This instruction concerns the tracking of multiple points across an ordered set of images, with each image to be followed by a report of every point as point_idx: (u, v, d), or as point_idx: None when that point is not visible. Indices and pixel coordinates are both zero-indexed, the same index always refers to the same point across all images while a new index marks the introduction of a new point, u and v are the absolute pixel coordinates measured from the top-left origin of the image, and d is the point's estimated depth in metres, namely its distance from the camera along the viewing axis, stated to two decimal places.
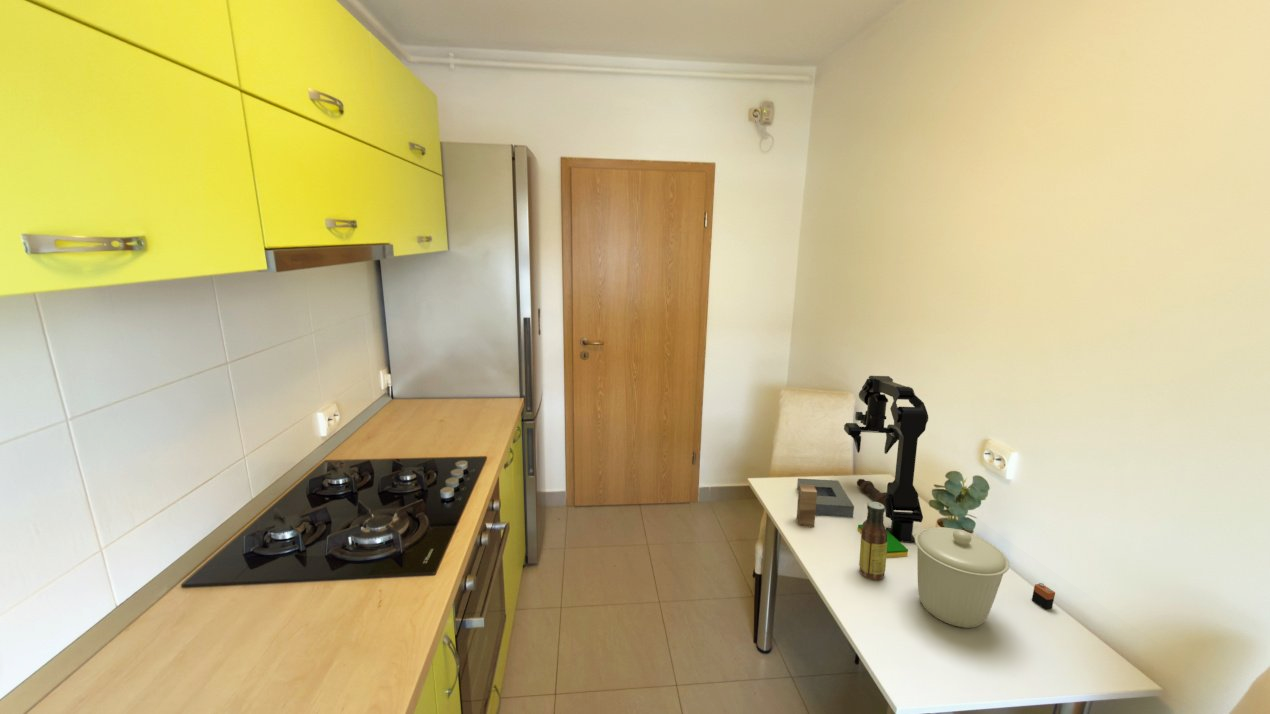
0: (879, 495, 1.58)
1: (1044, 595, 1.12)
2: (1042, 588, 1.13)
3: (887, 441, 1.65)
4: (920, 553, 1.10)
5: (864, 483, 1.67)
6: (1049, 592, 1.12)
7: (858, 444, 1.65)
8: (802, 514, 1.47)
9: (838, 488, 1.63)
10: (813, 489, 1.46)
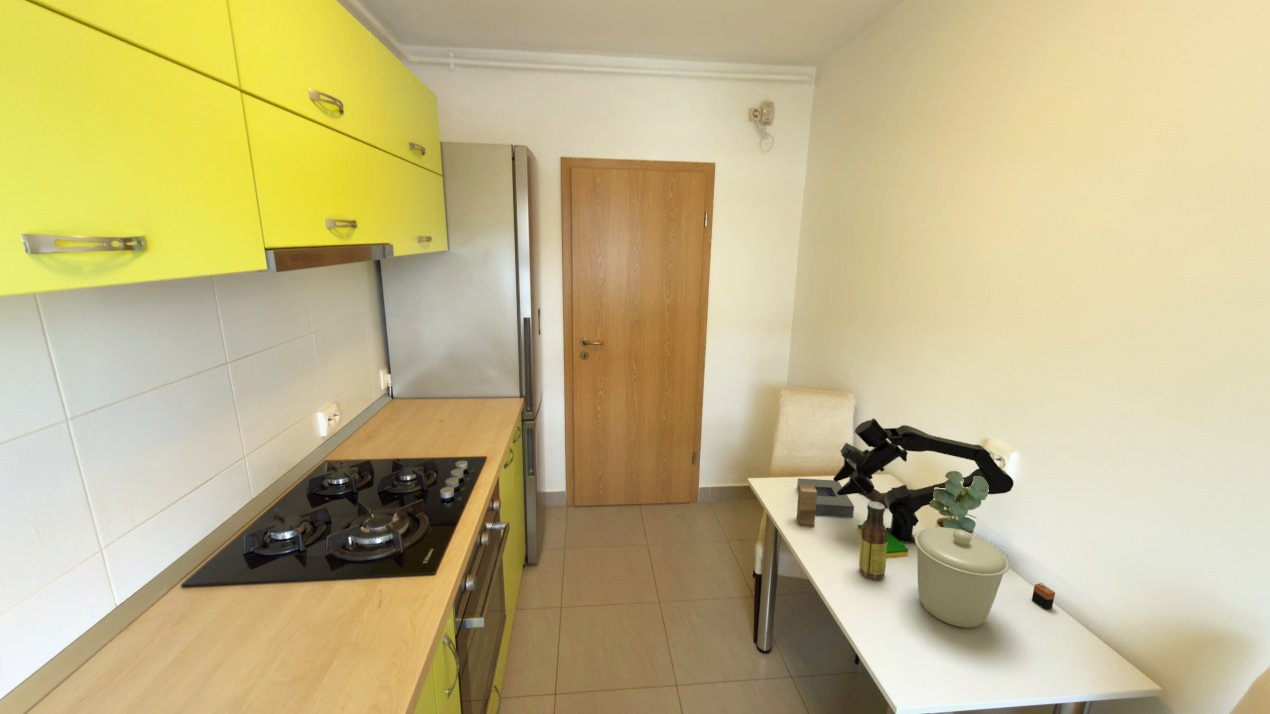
0: (880, 496, 1.57)
1: (1044, 595, 1.12)
2: (1042, 588, 1.13)
3: (845, 471, 1.48)
4: (920, 553, 1.10)
5: None
6: (1049, 592, 1.12)
7: None
8: (802, 514, 1.47)
9: (838, 488, 1.63)
10: (813, 489, 1.46)
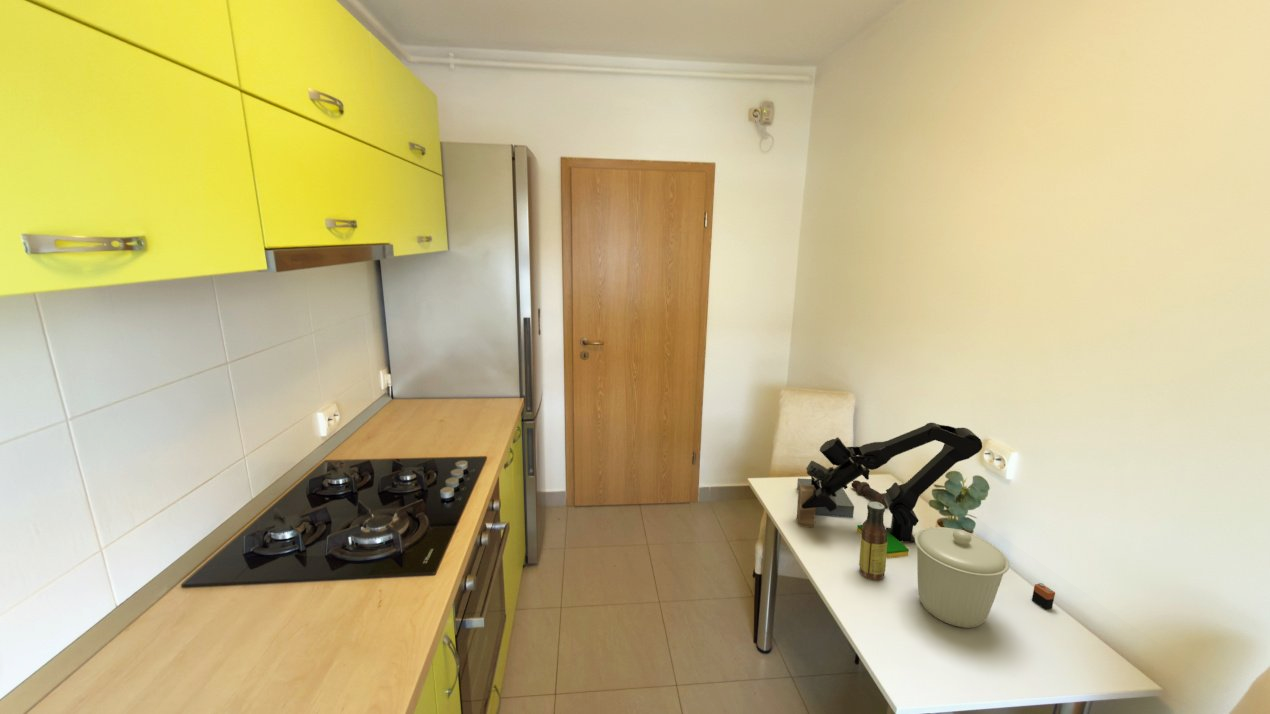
0: (881, 496, 1.57)
1: (1044, 595, 1.12)
2: (1042, 588, 1.13)
3: None
4: (920, 553, 1.10)
5: (861, 485, 1.66)
6: (1049, 592, 1.12)
7: None
8: (802, 513, 1.47)
9: None
10: None
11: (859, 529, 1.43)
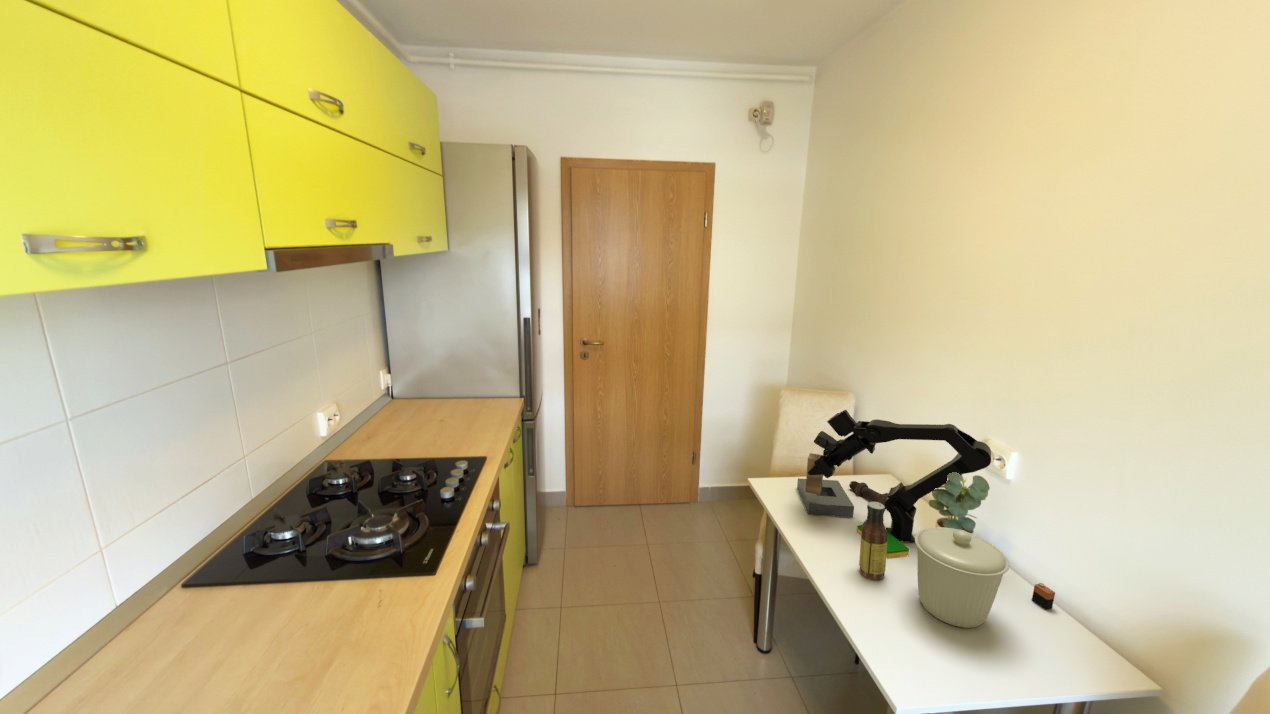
0: (882, 497, 1.56)
1: (1044, 595, 1.12)
2: (1042, 588, 1.13)
3: None
4: (920, 553, 1.10)
5: (860, 485, 1.65)
6: (1049, 592, 1.12)
7: None
8: (808, 480, 1.54)
9: (838, 488, 1.63)
10: None
11: (859, 529, 1.43)
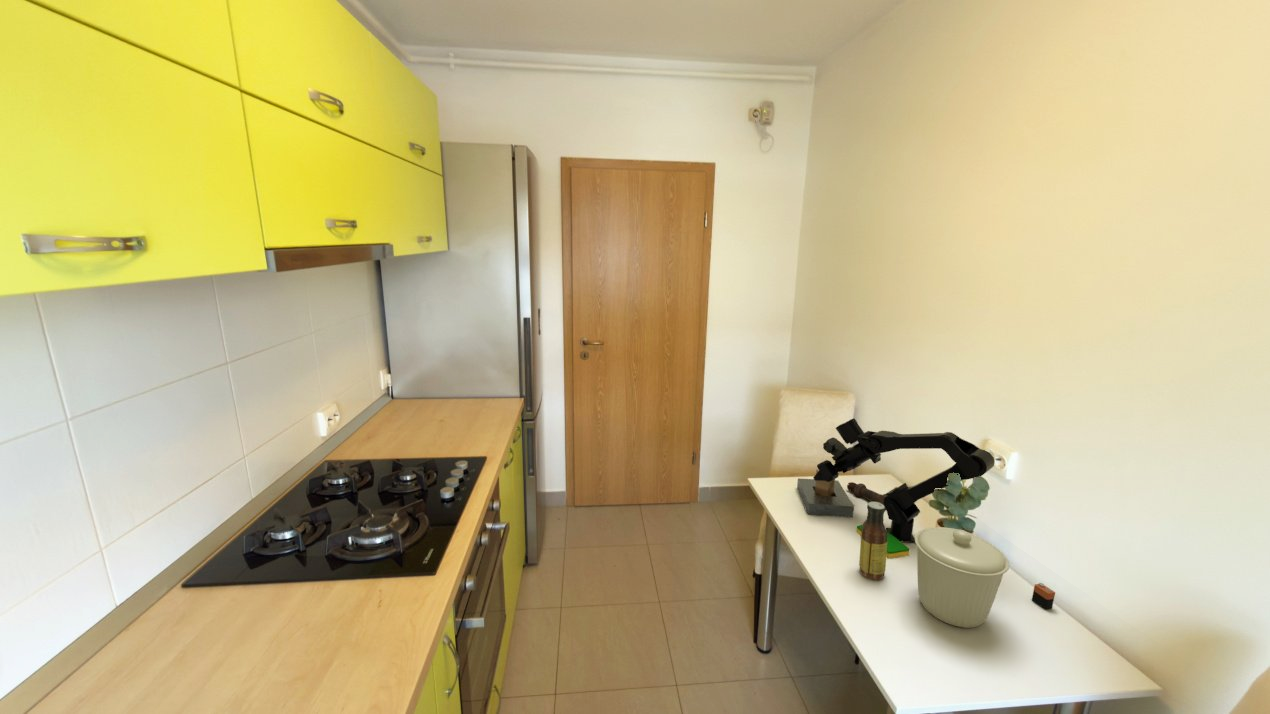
0: (883, 497, 1.56)
1: (1044, 595, 1.12)
2: (1042, 588, 1.13)
3: None
4: (920, 553, 1.10)
5: (858, 486, 1.65)
6: (1049, 592, 1.12)
7: None
8: (816, 491, 1.61)
9: (838, 488, 1.63)
10: None
11: (859, 530, 1.43)
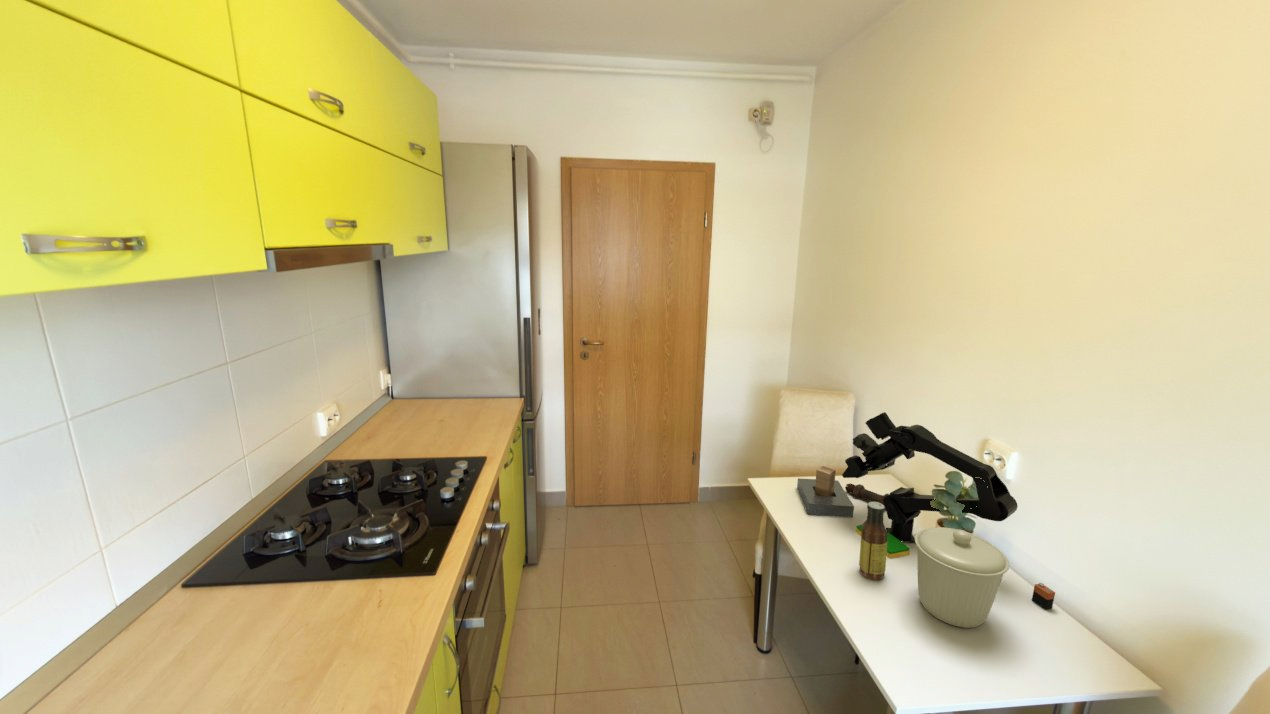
0: None
1: (1044, 595, 1.12)
2: (1042, 588, 1.13)
3: None
4: (920, 553, 1.10)
5: (857, 488, 1.64)
6: (1049, 592, 1.12)
7: None
8: (816, 491, 1.61)
9: (838, 488, 1.63)
10: (829, 472, 1.58)
11: (858, 530, 1.43)
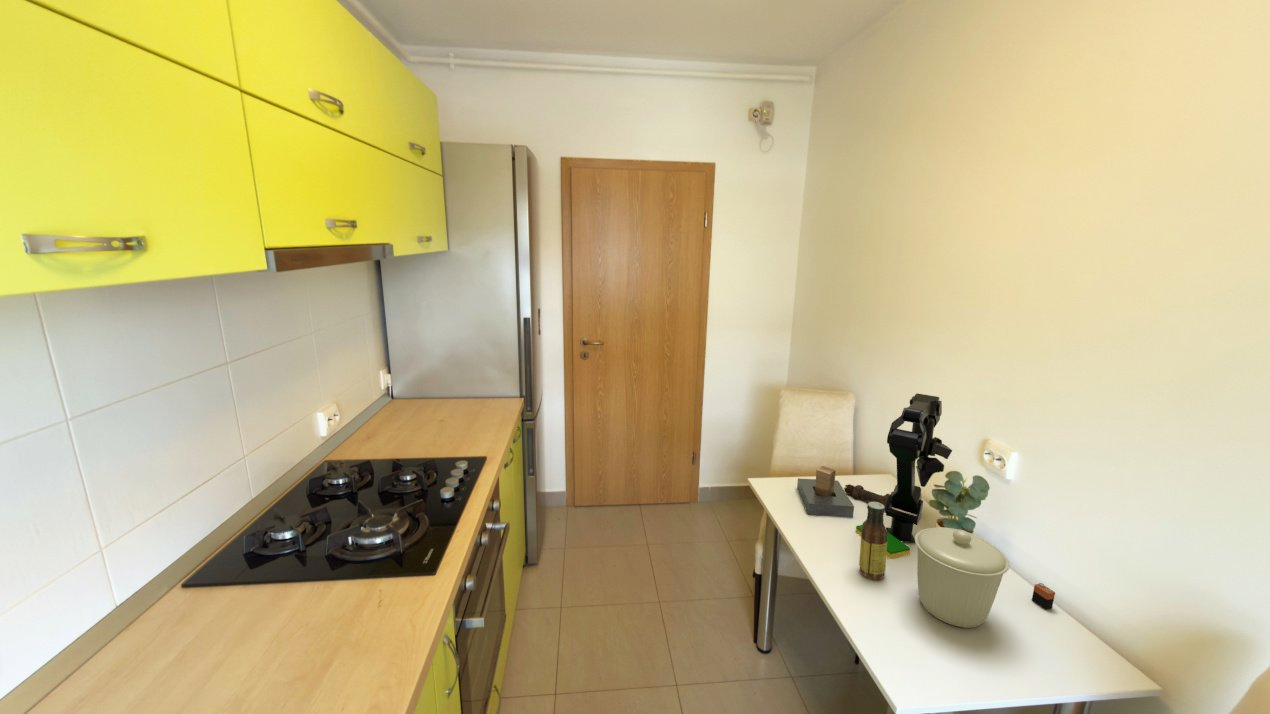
0: (885, 498, 1.55)
1: (1044, 595, 1.12)
2: (1042, 588, 1.13)
3: None
4: (920, 553, 1.10)
5: (857, 489, 1.63)
6: (1049, 592, 1.12)
7: None
8: (816, 491, 1.61)
9: (838, 488, 1.63)
10: (829, 472, 1.58)
11: (858, 530, 1.43)
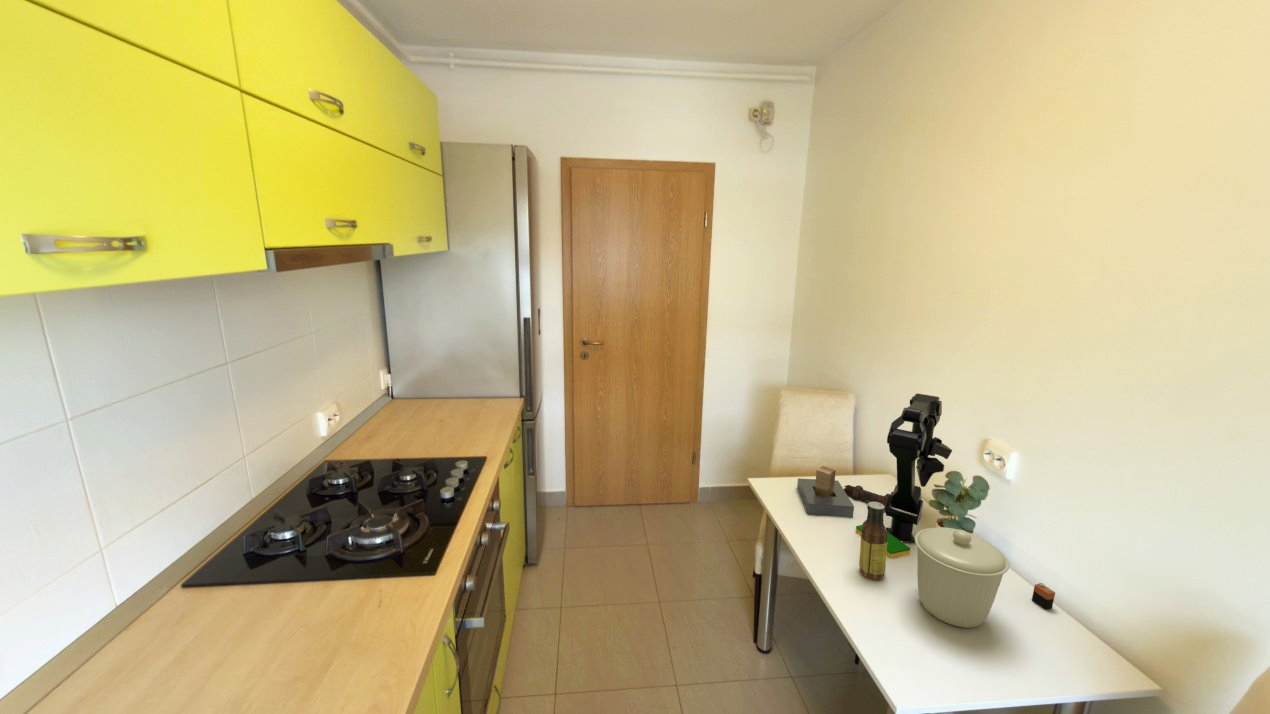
0: (885, 499, 1.55)
1: (1044, 595, 1.12)
2: (1042, 588, 1.13)
3: None
4: (920, 553, 1.10)
5: (857, 489, 1.63)
6: (1049, 592, 1.12)
7: None
8: (816, 491, 1.61)
9: (838, 488, 1.63)
10: (829, 472, 1.58)
11: (858, 530, 1.43)
